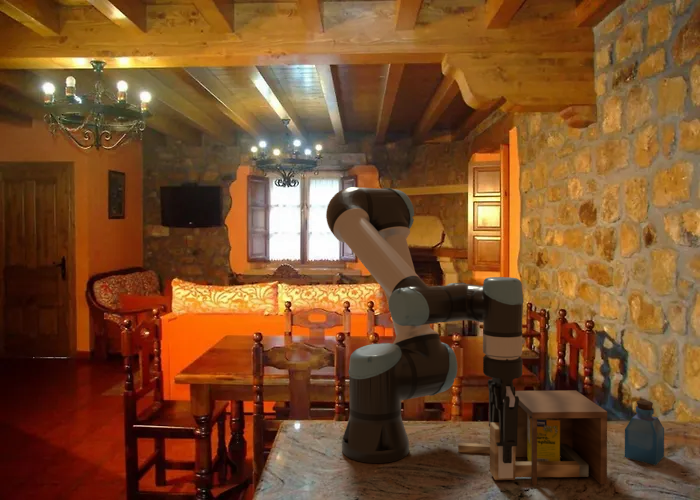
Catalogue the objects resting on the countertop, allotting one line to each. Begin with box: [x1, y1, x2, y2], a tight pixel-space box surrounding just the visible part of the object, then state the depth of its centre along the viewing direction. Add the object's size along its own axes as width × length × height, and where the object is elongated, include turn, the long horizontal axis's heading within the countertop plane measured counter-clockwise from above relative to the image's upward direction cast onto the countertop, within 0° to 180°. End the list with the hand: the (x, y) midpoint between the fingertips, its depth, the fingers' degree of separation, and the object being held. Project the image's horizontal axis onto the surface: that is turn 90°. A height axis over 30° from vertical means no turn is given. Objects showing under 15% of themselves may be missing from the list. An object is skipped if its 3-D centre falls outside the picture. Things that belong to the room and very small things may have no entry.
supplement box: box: [526, 414, 561, 461], centre depth 117 cm, size 6×6×11 cm
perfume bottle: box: [624, 399, 665, 466], centre depth 122 cm, size 6×6×12 cm
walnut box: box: [515, 389, 608, 486], centre depth 116 cm, size 14×15×14 cm
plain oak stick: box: [457, 442, 490, 455], centre depth 125 cm, size 12×2×2 cm, turn 81°
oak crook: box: [489, 422, 589, 481], centre depth 115 cm, size 19×12×10 cm, turn 90°
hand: (502, 472), depth 111 cm, fingers closed on oak crook, 4 cm apart
